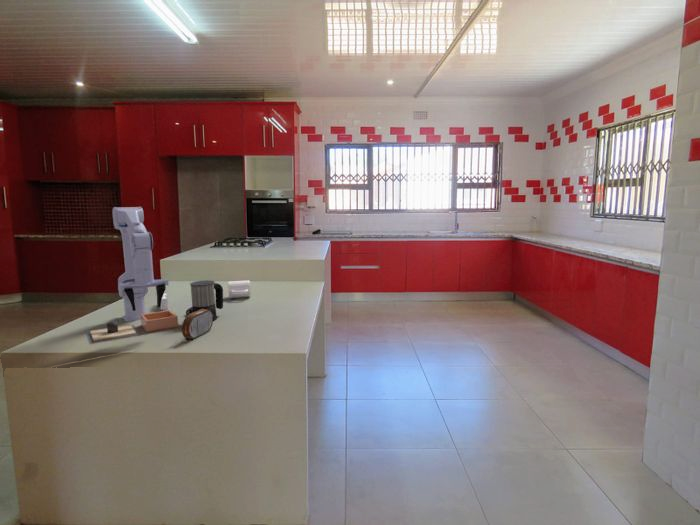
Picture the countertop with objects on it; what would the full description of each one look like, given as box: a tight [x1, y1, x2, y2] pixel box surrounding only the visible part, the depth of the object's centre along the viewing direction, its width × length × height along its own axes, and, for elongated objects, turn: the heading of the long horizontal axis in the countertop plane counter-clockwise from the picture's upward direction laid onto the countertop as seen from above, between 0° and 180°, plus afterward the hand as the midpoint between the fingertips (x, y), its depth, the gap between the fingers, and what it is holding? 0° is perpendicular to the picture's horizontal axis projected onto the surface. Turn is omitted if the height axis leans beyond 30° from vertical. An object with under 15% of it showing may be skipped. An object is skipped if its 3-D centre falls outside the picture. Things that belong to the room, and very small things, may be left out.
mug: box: [227, 279, 252, 299], centre depth 197 cm, size 12×10×8 cm
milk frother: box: [185, 280, 224, 321], centre depth 164 cm, size 14×16×15 cm
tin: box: [181, 309, 214, 340], centre depth 143 cm, size 15×3×8 cm, turn 166°
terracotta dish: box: [140, 309, 179, 333], centre depth 153 cm, size 10×10×4 cm
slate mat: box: [85, 324, 142, 345], centre depth 144 cm, size 15×15×1 cm
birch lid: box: [89, 321, 136, 342], centre depth 144 cm, size 12×12×4 cm
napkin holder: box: [159, 292, 169, 311], centre depth 183 cm, size 15×11×6 cm
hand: (146, 308), depth 141 cm, fingers open, 7 cm apart
